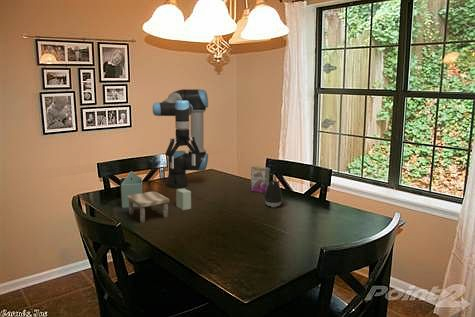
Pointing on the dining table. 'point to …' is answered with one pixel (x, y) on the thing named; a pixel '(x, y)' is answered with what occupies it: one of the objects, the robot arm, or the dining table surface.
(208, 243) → the dining table surface
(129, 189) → the teal gabled house
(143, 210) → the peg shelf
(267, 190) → the dark grey cone
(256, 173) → the candy bar box
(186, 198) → the sage block
